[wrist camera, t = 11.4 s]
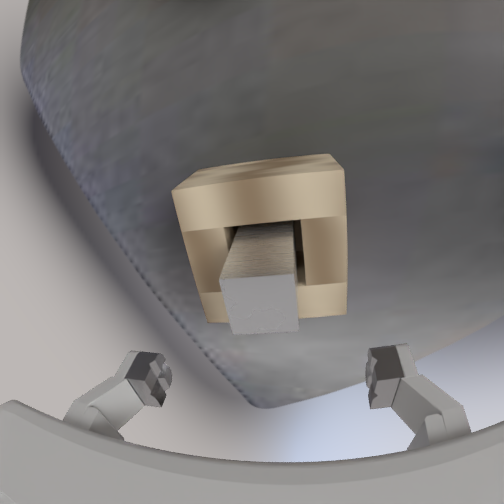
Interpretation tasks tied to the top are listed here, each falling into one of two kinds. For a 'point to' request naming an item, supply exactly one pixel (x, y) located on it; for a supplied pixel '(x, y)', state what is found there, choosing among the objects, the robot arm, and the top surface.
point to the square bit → (262, 279)
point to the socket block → (263, 211)
